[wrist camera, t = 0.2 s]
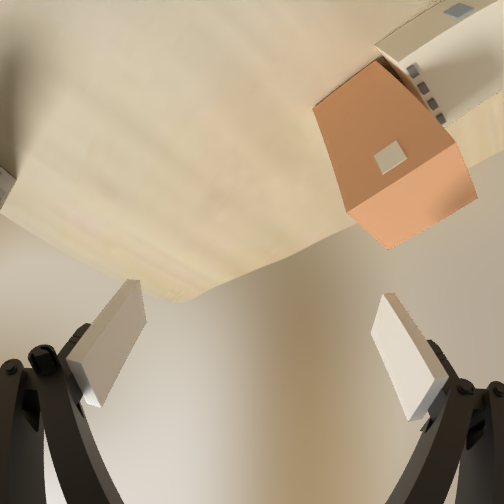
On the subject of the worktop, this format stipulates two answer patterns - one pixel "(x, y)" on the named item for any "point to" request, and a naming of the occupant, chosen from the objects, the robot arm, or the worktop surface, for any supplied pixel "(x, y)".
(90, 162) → the worktop surface
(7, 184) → the coffee box
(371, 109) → the brown box
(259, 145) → the worktop surface
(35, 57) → the worktop surface
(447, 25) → the white button box
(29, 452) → the robot arm
